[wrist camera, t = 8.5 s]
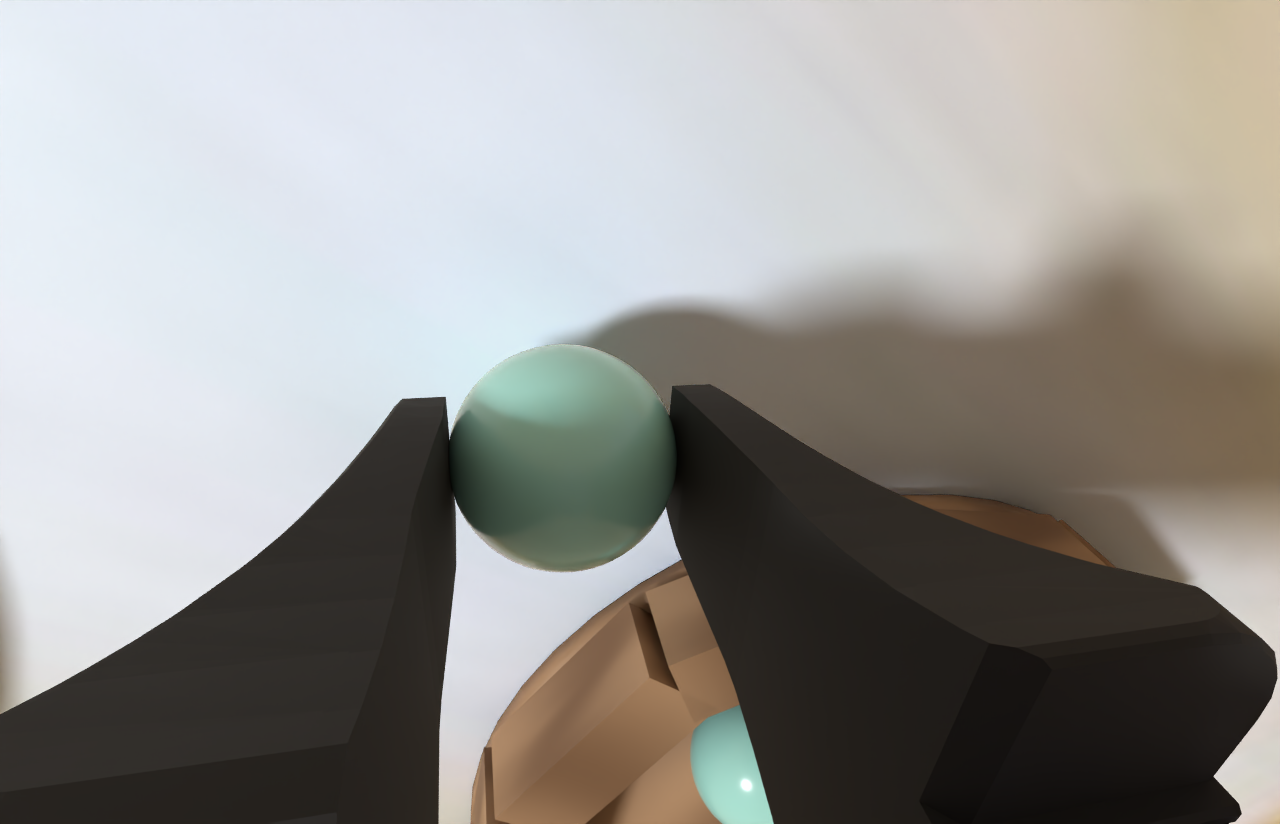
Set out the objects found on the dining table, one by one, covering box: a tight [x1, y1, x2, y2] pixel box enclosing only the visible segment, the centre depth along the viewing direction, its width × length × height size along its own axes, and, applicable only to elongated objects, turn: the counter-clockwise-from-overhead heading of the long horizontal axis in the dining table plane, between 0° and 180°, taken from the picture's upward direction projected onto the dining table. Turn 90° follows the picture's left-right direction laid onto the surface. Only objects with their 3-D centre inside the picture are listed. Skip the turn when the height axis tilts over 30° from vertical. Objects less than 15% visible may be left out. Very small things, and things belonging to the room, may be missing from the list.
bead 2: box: [690, 705, 774, 824], centre depth 16 cm, size 3×3×3 cm
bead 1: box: [449, 344, 677, 572], centre depth 11 cm, size 3×3×3 cm
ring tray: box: [471, 495, 1116, 824], centre depth 20 cm, size 20×20×3 cm
